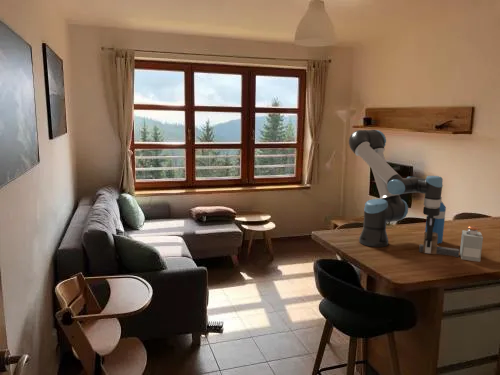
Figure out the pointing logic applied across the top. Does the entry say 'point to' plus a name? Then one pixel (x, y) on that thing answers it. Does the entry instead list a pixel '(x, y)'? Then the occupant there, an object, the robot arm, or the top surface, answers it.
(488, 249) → the top surface
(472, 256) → the white box
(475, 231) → the plunger
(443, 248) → the rail
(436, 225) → the water bottle
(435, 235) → the block
